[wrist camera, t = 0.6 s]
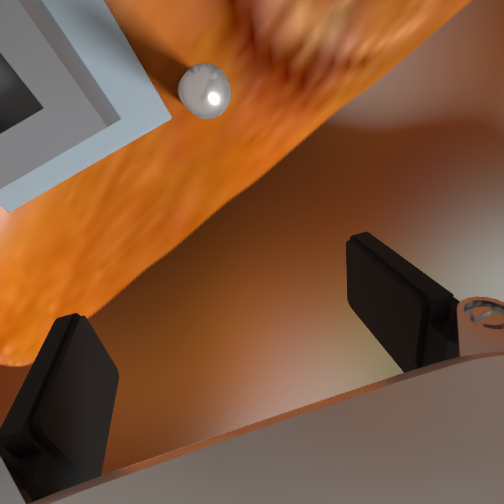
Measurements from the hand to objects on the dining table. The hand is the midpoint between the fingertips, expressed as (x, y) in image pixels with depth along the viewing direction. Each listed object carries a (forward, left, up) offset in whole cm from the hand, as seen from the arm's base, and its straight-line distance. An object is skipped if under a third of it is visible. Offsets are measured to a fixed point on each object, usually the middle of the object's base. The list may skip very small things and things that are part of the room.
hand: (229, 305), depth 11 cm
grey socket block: (+10, -12, -24) cm, 29 cm away
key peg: (-4, -6, -24) cm, 25 cm away
